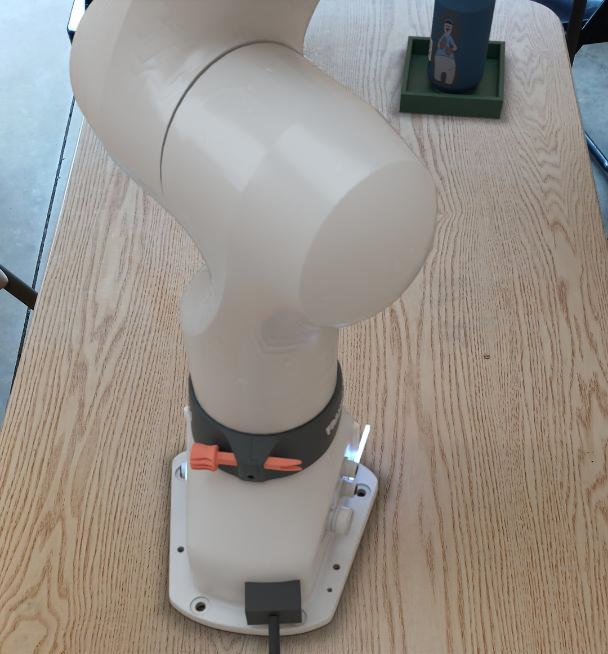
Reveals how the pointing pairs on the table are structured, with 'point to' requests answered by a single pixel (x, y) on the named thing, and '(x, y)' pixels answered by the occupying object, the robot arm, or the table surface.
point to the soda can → (459, 44)
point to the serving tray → (476, 103)
